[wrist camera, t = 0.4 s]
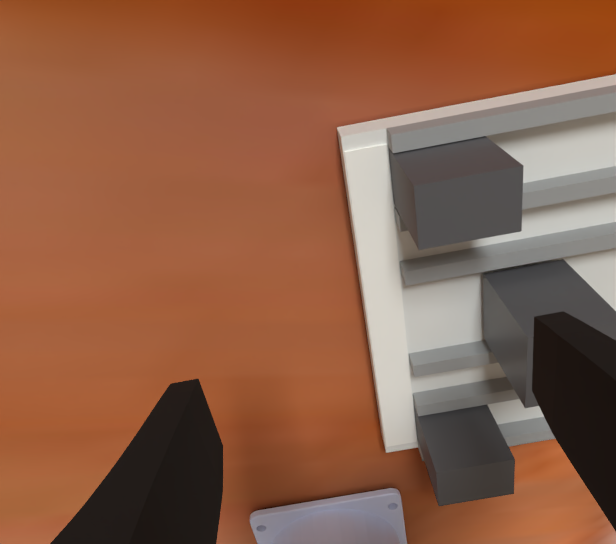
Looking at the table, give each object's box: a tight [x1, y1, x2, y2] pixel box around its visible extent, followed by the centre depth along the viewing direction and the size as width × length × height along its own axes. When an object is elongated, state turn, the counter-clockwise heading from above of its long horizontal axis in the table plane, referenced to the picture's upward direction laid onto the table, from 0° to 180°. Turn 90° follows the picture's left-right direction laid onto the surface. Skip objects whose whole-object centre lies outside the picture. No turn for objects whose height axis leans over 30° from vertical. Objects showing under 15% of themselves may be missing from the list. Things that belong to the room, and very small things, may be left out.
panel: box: [337, 74, 616, 506], centre depth 20 cm, size 15×12×5 cm
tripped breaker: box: [483, 259, 616, 408], centre depth 19 cm, size 3×3×4 cm
